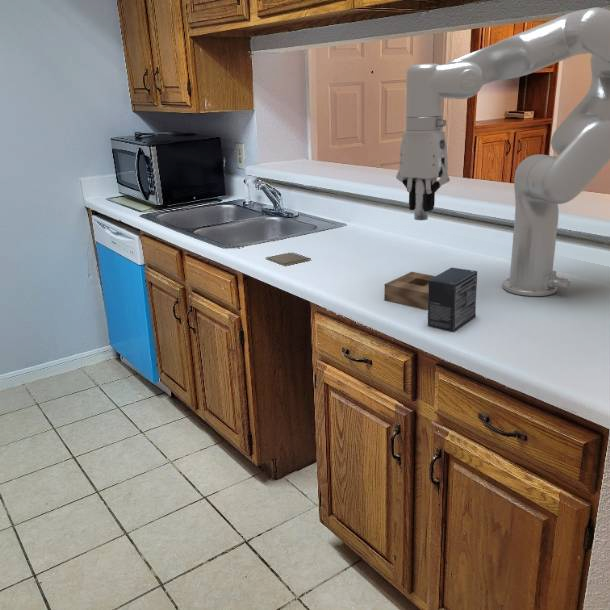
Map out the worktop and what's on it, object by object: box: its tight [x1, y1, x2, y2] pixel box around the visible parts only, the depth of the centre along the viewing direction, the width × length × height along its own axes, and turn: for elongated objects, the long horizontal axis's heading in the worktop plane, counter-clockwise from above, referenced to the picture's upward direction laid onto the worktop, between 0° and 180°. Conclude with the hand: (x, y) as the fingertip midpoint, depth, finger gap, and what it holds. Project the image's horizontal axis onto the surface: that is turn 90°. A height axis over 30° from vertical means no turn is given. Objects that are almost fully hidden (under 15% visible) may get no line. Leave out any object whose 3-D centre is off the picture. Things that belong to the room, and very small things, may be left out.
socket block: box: [383, 271, 436, 311], centre depth 142 cm, size 12×12×4 cm
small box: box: [427, 267, 478, 333], centre depth 127 cm, size 11×6×10 cm, turn 141°
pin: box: [413, 179, 429, 221], centre depth 136 cm, size 3×3×10 cm
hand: (421, 209), depth 137 cm, fingers closed on pin, 3 cm apart
